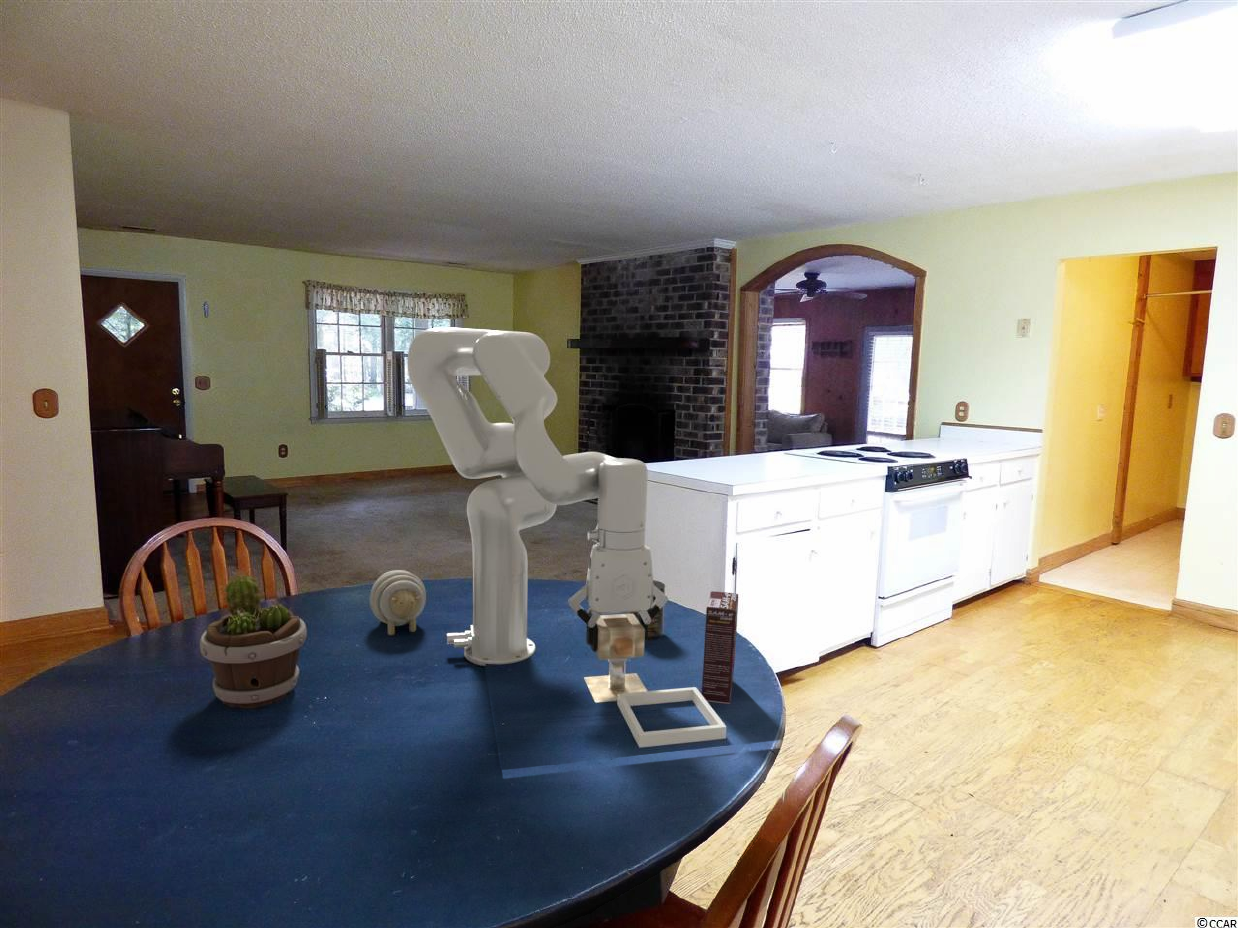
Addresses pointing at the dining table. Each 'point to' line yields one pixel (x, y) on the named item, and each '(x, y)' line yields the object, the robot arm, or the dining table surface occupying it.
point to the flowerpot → (252, 647)
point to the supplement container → (655, 617)
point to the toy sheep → (398, 599)
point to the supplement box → (719, 647)
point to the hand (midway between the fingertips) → (616, 645)
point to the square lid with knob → (614, 682)
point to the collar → (620, 637)
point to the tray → (673, 735)
